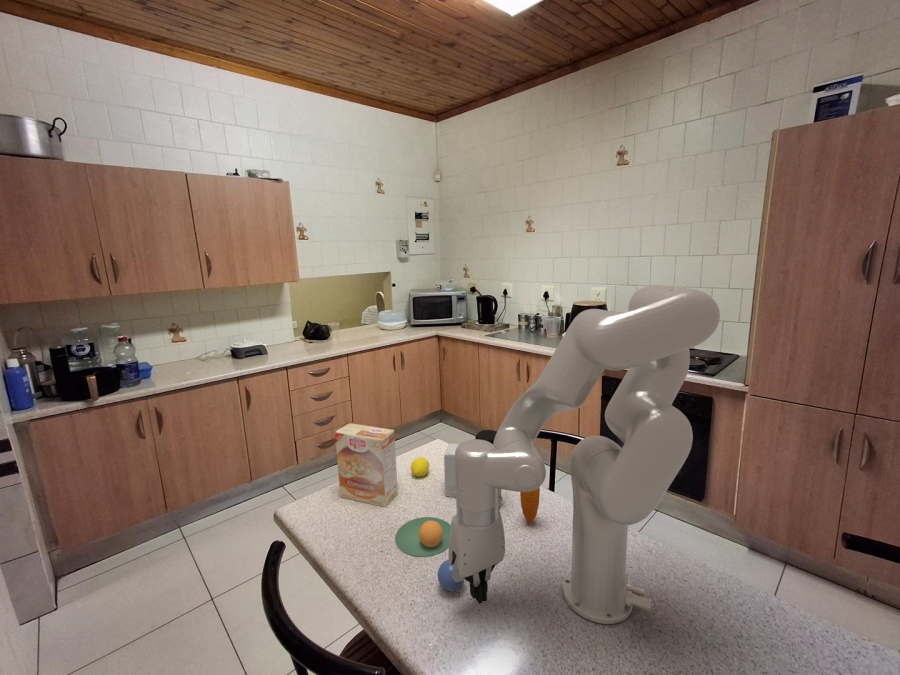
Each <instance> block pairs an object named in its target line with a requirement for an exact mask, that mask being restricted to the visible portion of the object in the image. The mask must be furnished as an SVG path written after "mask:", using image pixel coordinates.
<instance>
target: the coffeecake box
mask: <svg viewBox="0 0 900 675" xmlns="http://www.w3.org/2000/svg"><path fill="white" fill-rule="evenodd" d="M334 437H335V438H334V439H335V448H336V457H337V458H336V459H337V460H336V462H337V472H338V474H337V475H338V483H339V485H338V486H339V494H340V496H339V497H340V498H343V499H347V500H352V501H357V502H360V503H361V502H362V503H365V504H371V505H374V506H377V507H382V508H386V507H387V506H389V504H390V503H391V502H392V501H393V500H394V499H395V498H396V497H397V496H398V494H399V492H398V491H399V490H398V474H397V473H398V472H397V456H396V437H395V430H394V429H389V428H383V427H376V426H370V425H366V424H358V423H357V424H356V423H351V422H349V423H347V424H345V425H344V426H342V427H341V428H338V429H337V430H336V431H334Z"/></svg>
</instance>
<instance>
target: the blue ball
mask: <svg viewBox="0 0 900 675" xmlns="http://www.w3.org/2000/svg"><path fill="white" fill-rule="evenodd" d="M453 567H454V565H450V563H449V559H447V560H446V559H445V561H443V562H442V563H441V564H440V565H439V567H438V570H437V581H438V583H439V585H440V586H441V588H442V589H443V590H445V591H447V592H456V591H458V590H460V589H461V588H462V586H464V583H465V581H466V580H464V581H460V582H455V580H454V579H453V578H452V572H453Z"/></svg>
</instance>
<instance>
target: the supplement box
mask: <svg viewBox="0 0 900 675" xmlns="http://www.w3.org/2000/svg"><path fill="white" fill-rule="evenodd" d="M459 444H460V443H448V445H447V448H446V449H445V452H444V454H443V461H444V462H443V466H444V469H443V470H444V496H445V497H447V496H449V498H456V478H455V451H456V448H457V447H458V445H459Z"/></svg>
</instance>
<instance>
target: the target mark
mask: <svg viewBox="0 0 900 675" xmlns="http://www.w3.org/2000/svg"><path fill="white" fill-rule="evenodd" d="M427 521H436V522H437V523H439V524H440V526H441V527H442V530H443V537H442V540H441V542H440V543H439V544H438V545H437V546H434V547H427V546H425V545H424V544H422V542H421V541H420V538H419V530H420V528H421V526H422V525H423V524H424V523H425V522H427ZM450 527H451V523H449V522H447V521H446V520H444V519H443V518H442V519H441V518H438V517H433V516H432V517H431V516H424V517H417V518H414V519H411V520H409V521H406V523H404V524H402V525H401V526H400V527H399V528H398V530H397V531H396V533H395V537H394V538H395V540H394V541H395V544H396V547H397V548H398V549H399V550H400V551H401V552H402V553H404V554H406V555H408V556H411V557H418V558H419V557H420V558H427V557H433V556H436V555H439V554H441V553H443V552H445V551H446V550H448V549H449V534H450Z"/></svg>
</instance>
